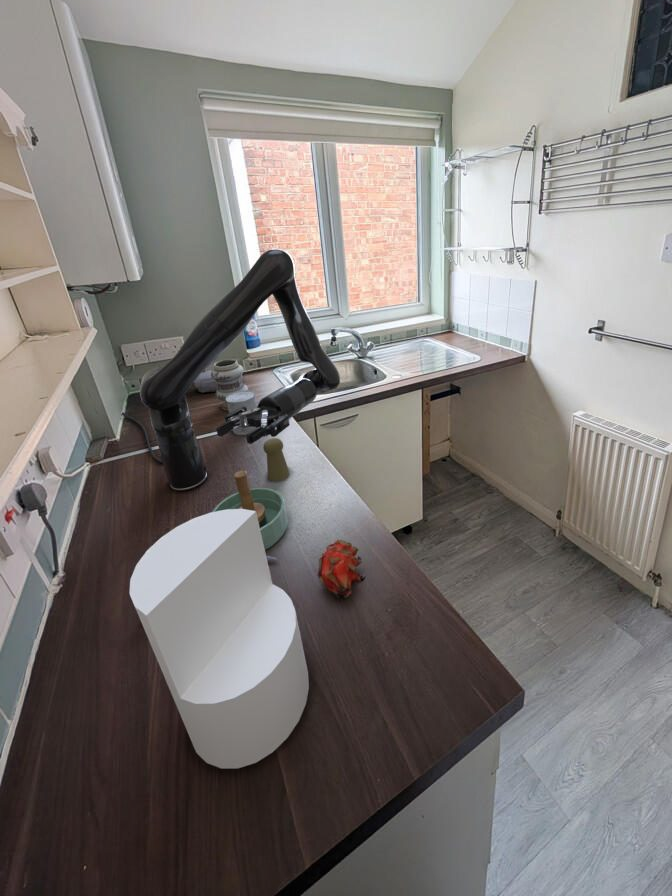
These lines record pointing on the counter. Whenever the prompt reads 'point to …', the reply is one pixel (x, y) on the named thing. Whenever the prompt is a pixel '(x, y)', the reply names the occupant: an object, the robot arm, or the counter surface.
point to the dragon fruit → (339, 568)
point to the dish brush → (249, 497)
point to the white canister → (239, 401)
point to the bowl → (273, 512)
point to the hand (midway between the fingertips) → (232, 436)
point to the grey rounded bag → (206, 382)
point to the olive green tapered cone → (275, 460)
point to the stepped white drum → (223, 636)
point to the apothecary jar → (228, 379)
